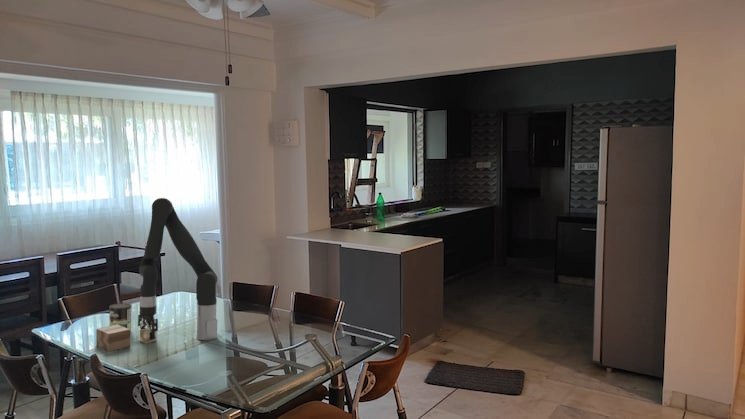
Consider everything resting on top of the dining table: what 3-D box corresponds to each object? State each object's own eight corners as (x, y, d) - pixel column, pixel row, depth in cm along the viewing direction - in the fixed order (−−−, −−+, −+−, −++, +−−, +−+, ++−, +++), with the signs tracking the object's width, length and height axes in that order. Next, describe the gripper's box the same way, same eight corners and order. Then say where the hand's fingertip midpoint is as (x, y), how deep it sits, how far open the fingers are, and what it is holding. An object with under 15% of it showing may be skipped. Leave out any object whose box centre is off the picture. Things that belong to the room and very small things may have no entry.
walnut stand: (130, 346, 254) (130, 329, 254) (108, 351, 247) (108, 334, 246) (117, 340, 262) (117, 324, 261) (96, 345, 254) (96, 328, 253)
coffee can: (118, 337, 267) (118, 309, 266) (104, 333, 272) (104, 306, 271) (136, 332, 276) (136, 305, 275) (122, 328, 281) (122, 302, 280)
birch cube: (156, 340, 264) (156, 329, 264) (145, 343, 260) (145, 332, 259) (150, 338, 267) (150, 327, 267) (139, 340, 263) (139, 329, 263)
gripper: (163, 306, 261) (162, 339, 262) (147, 300, 270) (147, 332, 271) (148, 308, 255) (147, 342, 256) (133, 303, 264) (132, 336, 265)
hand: (147, 337), depth 264 cm, fingers open, 8 cm apart
